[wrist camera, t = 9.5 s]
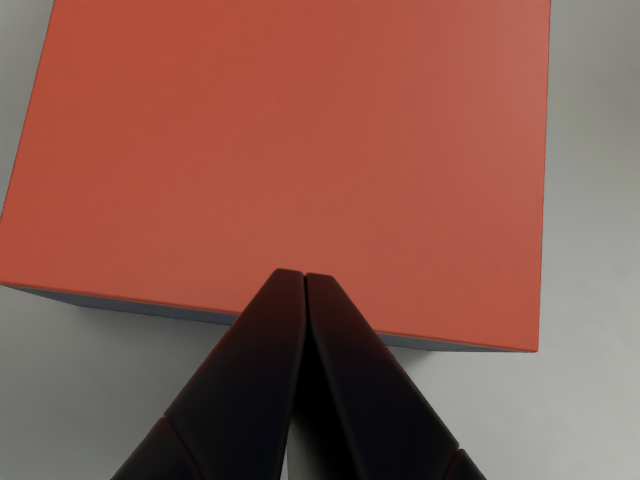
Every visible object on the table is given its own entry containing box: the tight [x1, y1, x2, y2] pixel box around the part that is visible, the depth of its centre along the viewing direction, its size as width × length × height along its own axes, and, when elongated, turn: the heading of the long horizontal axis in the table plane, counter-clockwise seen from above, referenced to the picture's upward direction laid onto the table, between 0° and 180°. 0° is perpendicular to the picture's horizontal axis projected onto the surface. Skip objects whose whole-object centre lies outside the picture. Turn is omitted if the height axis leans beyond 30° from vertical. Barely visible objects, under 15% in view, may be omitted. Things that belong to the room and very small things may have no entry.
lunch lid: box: [0, 0, 551, 353], centre depth 15 cm, size 15×13×1 cm
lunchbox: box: [6, 286, 514, 352], centre depth 18 cm, size 15×13×6 cm
